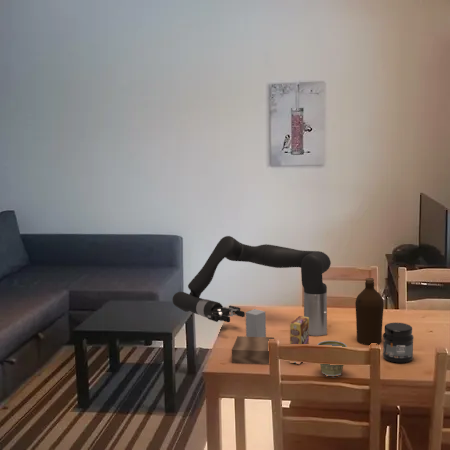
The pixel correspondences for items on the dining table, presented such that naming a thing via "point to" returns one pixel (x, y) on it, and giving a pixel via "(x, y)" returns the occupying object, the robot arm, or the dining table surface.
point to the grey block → (255, 323)
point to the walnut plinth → (251, 350)
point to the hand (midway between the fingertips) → (236, 317)
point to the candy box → (299, 331)
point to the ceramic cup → (327, 368)
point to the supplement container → (398, 342)
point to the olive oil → (369, 314)
